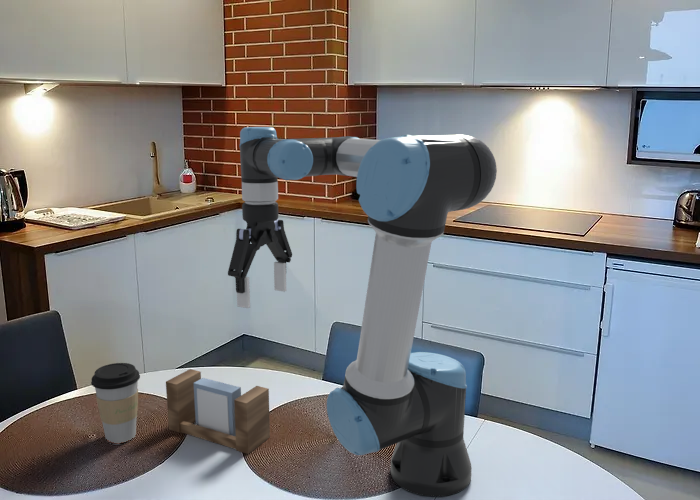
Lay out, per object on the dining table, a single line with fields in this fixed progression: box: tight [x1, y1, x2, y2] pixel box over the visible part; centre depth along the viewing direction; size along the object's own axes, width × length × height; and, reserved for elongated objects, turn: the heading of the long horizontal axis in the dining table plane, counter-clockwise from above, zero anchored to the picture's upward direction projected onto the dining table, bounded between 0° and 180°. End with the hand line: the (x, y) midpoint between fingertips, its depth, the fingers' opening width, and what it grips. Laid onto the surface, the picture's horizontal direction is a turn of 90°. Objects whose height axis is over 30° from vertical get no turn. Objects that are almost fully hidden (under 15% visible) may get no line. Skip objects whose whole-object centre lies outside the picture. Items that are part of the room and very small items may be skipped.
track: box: [165, 368, 271, 455], centre depth 136 cm, size 21×8×11 cm, turn 62°
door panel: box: [194, 377, 242, 437], centre depth 136 cm, size 10×3×11 cm, turn 62°
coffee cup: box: [90, 362, 141, 443], centre depth 134 cm, size 9×9×15 cm
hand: (262, 298), depth 141 cm, fingers open, 13 cm apart
